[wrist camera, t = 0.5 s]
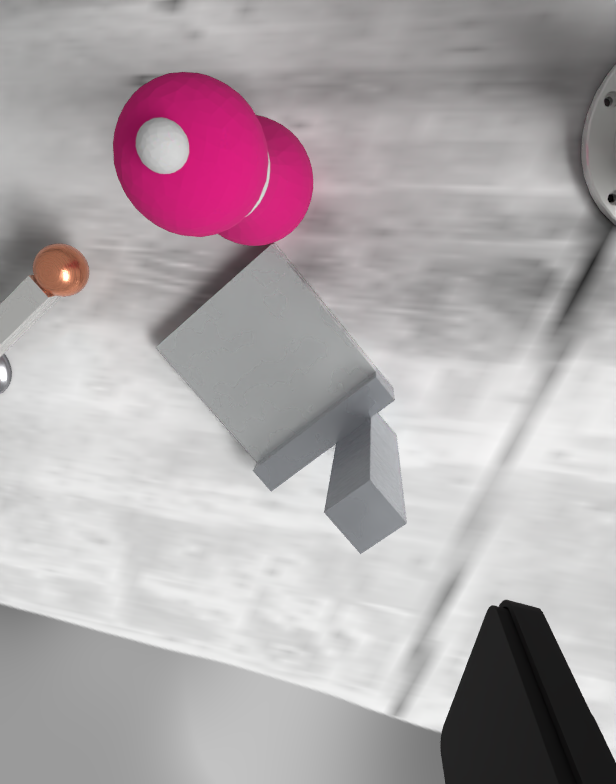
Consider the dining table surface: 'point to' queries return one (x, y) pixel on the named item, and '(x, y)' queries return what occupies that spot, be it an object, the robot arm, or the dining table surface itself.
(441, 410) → the dining table surface
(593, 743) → the robot arm
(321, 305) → the press bed
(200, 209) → the pepper mill
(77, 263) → the lever
